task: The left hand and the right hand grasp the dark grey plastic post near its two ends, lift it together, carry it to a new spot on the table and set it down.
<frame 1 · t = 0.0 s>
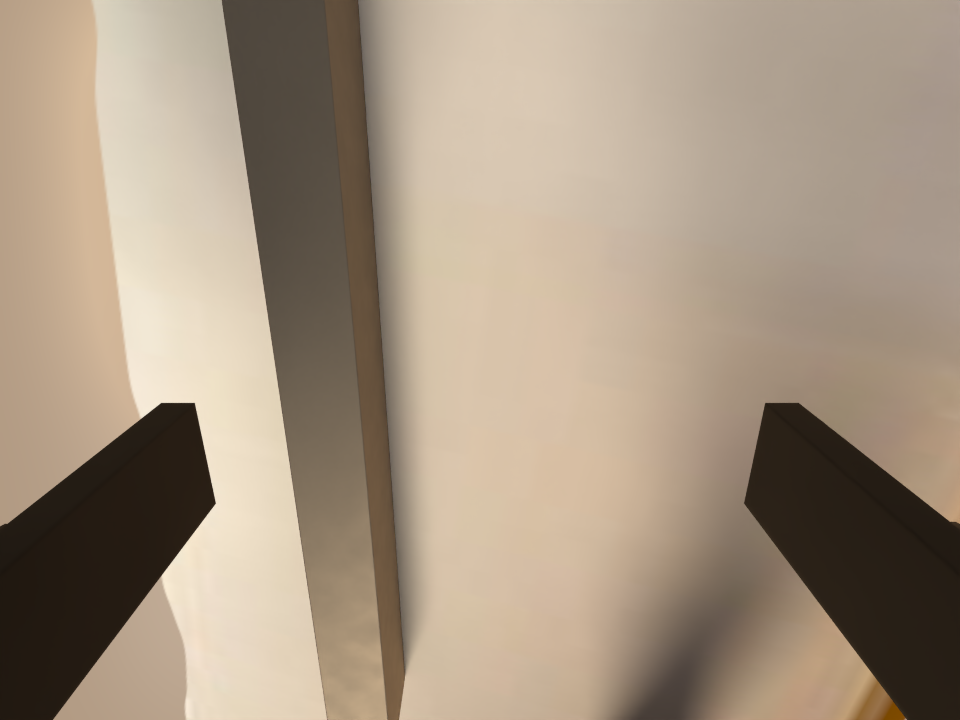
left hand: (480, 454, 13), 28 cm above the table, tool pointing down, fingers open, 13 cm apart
post: (351, 365, 42), on the table
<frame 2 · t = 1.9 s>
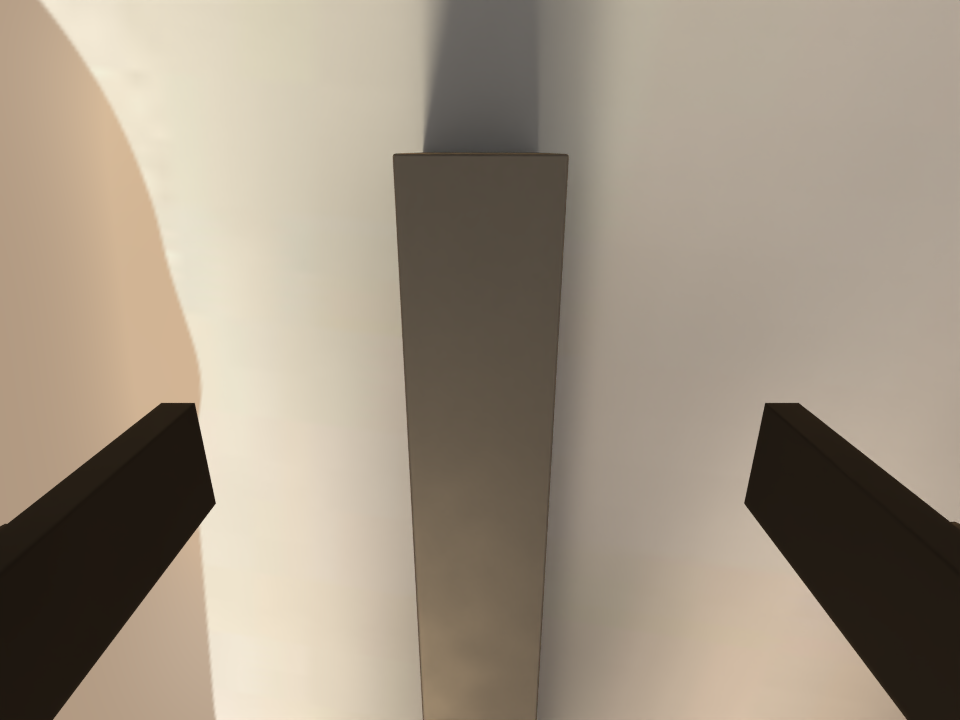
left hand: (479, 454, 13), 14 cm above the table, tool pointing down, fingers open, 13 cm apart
post: (479, 703, 35), on the table
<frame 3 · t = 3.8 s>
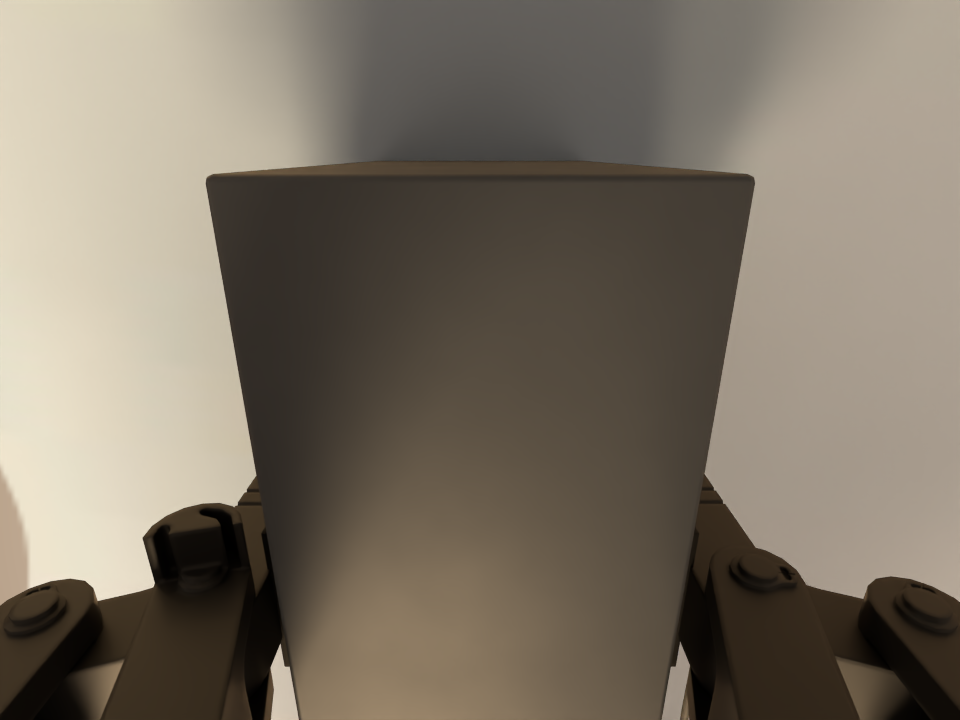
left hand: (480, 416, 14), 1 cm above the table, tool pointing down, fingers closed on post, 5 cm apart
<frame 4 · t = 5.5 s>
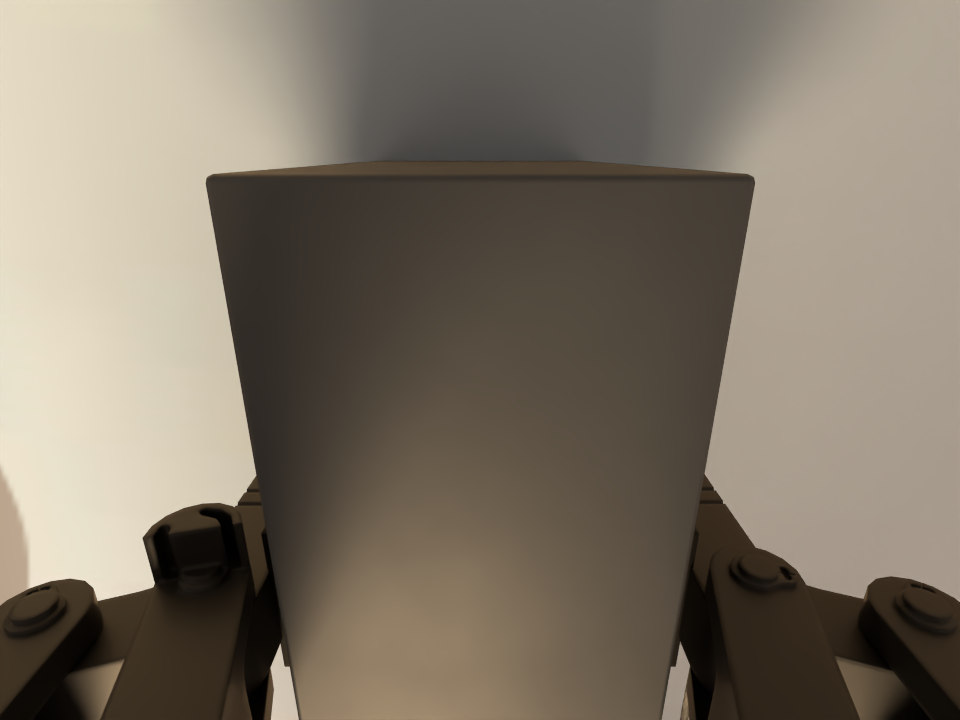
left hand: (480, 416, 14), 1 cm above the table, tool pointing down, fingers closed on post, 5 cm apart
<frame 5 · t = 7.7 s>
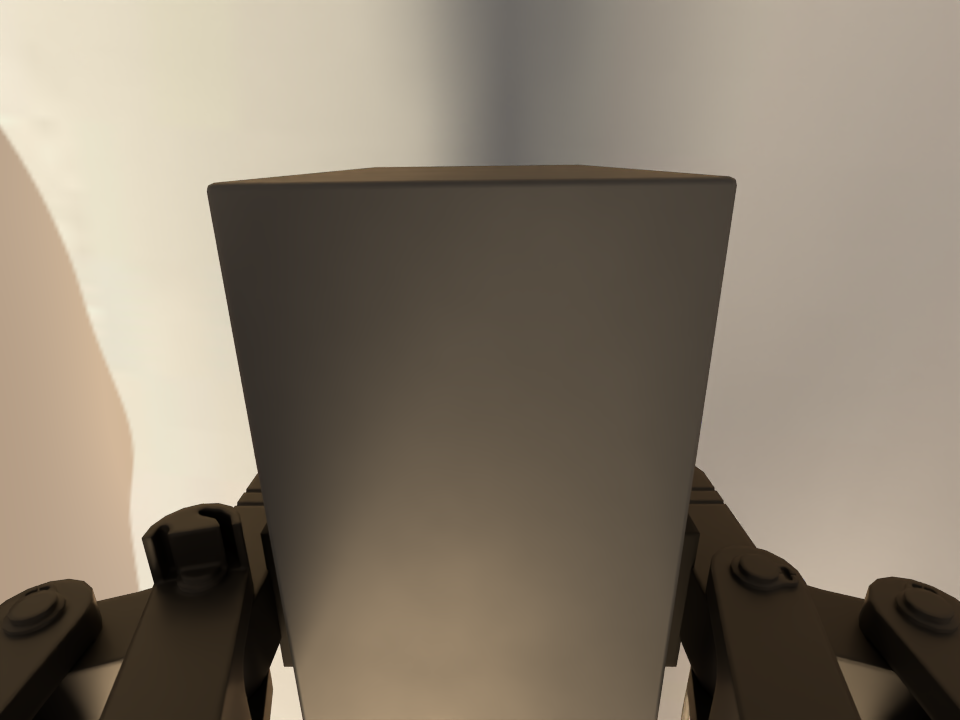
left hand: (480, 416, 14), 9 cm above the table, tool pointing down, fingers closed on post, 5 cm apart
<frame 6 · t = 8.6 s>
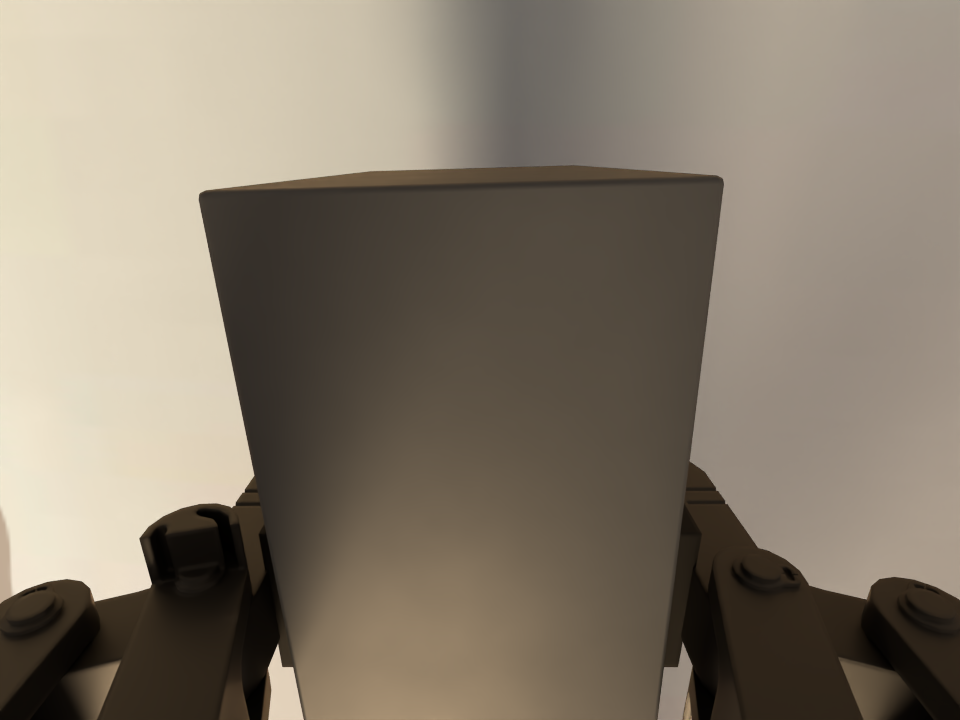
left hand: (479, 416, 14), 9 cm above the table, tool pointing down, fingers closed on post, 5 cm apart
when the left hand's fingers open (2 cm above the table, at t = 11.7 s): post moves 1 cm, on the table.
when the right hand's fingers open (5 cm above the table, at t = 11.9 s): post stays where it is, on the table.
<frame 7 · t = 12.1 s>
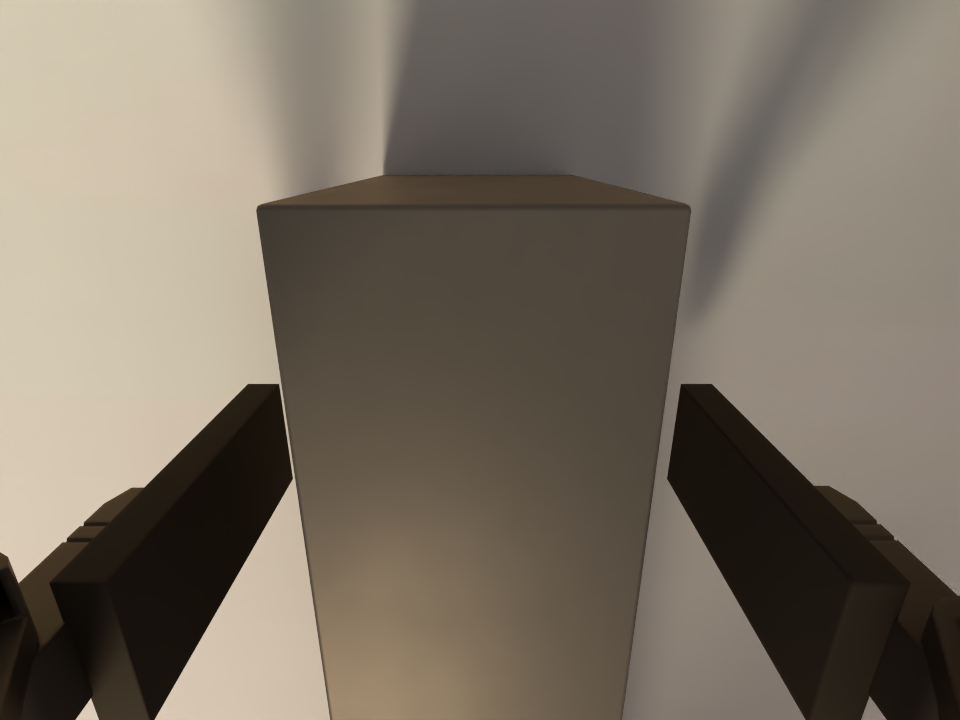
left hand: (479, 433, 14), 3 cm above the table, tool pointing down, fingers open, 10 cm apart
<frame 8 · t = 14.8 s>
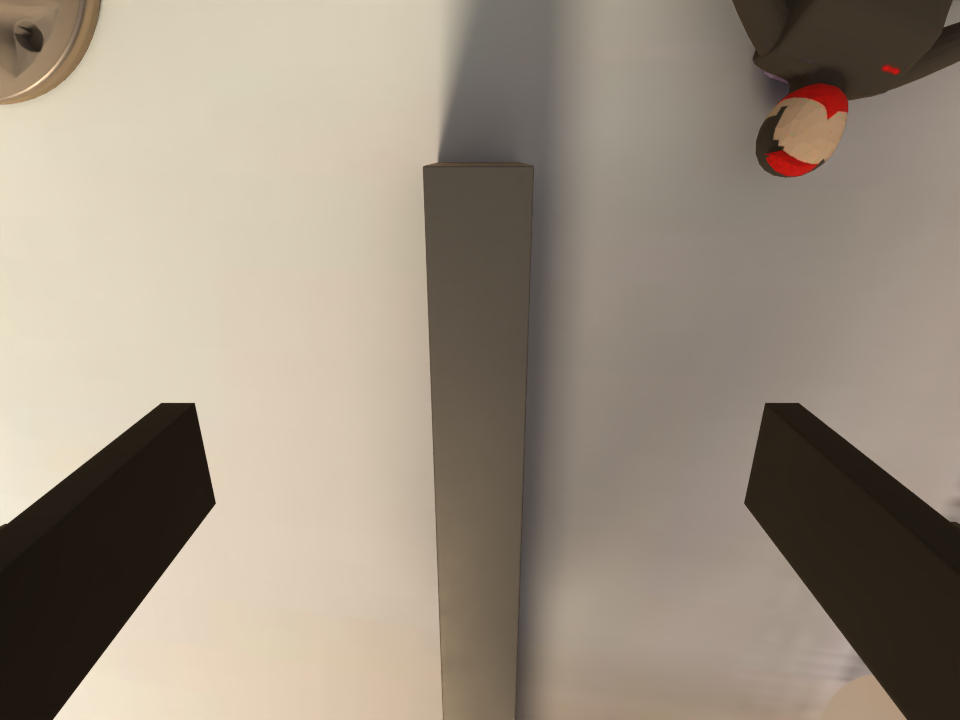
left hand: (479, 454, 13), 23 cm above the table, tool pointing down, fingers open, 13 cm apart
post: (479, 600, 44), on the table
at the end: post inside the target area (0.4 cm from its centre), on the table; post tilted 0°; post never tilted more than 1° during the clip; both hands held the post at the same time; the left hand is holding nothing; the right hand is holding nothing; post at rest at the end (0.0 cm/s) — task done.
